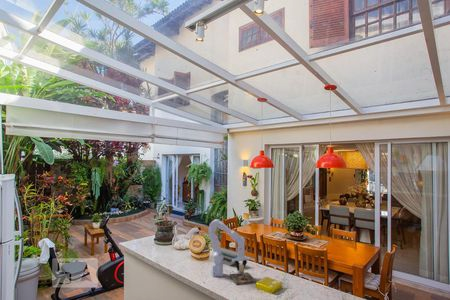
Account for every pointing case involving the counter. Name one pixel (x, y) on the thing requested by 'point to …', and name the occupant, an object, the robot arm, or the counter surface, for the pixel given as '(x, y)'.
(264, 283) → the element tile
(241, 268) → the steel peg
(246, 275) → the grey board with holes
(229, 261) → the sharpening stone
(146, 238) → the counter surface
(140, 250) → the counter surface
